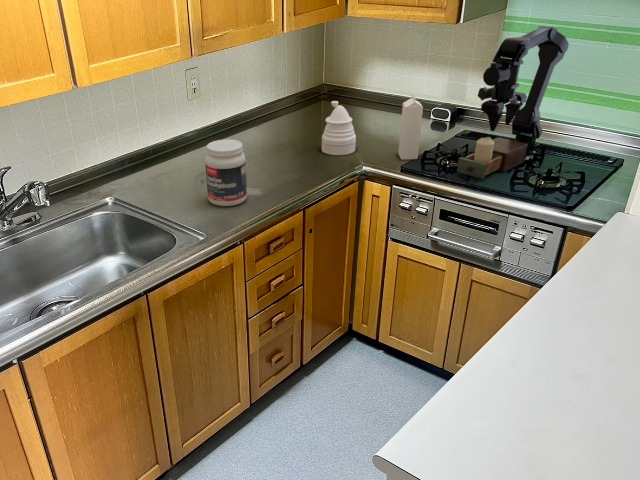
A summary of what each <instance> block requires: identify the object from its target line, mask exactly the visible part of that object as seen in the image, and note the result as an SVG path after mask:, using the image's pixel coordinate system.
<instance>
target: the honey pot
mask: <svg viewBox="0 0 640 480" xmlns="http://www.w3.org/2000/svg"><path fill="white" fill-rule="evenodd" d="M330 103H331V104H330V105H331V107H333V108H334V109H333V110H332V112H331V113H330V115H329V116H327V117H326V118H325V120H324V121H325V123H326V125H325V127H324V130H323V134H322V135H321V152H322V153H324V154H326V155H331V156H345V155H350V154H354V152H356V145H357V144H356V143H357V139H356V138H357V135H356V133H355V130H354V129H355V127H354V125H353V123H352V122H353V118H352V117H351V116H350V115H349V112H348V110H347V109H346V108H345V107H344V106H343V105H340V104H339V101H337V100H332V101H330Z"/></svg>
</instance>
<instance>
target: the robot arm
mask: <svg viewBox="0 0 640 480" xmlns="http://www.w3.org/2000/svg"><path fill="white" fill-rule="evenodd" d="M569 45H570V44H569V41H568V39H567V37H566V36H565V35H563V34H562V33H561V32H559V31H558V30H557V28H556V27H555V26H552V25H551V26H550V25H540V26H539V27H538V28H536V29H534V30H531V31H530V32H528V33H525V34H524V35H521V36H518V37H517V36H516V37H515V36H514V37H506V38H505V39H503V40H502V42H501V43H500V45H499V48H498V49H497V51H496V53H495V56H494V57H493V59H492V62H491V63H490V66H489V67H487V68H486V69H485V71H484V72H483V74H482V79H483V82H484V83H485V85H487V86H489V87H488V88H487V87H486V86H484V87H480V88H479V89H478V93H477V97H478V98H479V99H480V101H482V103H481V105H480V111H482V112H483V113H484V114H486V115H487V118H488V124H489V128H490V131H491V132H495V130H496V128H497V127H498V124H499V123H500V120H501V119H502V116H503V114H504V109H505V125H506V126H509V125H510V124H511V134H512V135H515V138H514V139H513V141H518V142H522V143H527V144H528V146H527V151H526V156H527V155H535V154H537V152H536V151H535V147H536V140H537V139H540V137H541V136H542V134H543V128H542V126H541V124H540V123H541V118H542V117H541V113H540V112H541V111H540V107H541V104H542V101H543V99H544V96H545V93H546V90H547V89H548V85H549V83H550V80H551V77H552V75H553V71H554V69H555V66H557V65H558V64H559V63H560V62H561V61H562V60H563V59H564V56H565V54H566V52H567V51H568V49H569V47H570V46H569ZM535 47H538V51H537V52H538V53H537V56H538V60H539V65H538V68H537V70H536V73H535V76H534V78H533V81H532V84H531V86H530V89H529V93H528V94H526V93H525V92H519V91H517V88H518V87H520V83H519V82H518V80H519V75H520V69H521V65H524V63H525V62H524V61H523V58H524V57H526V56H527V55H528V53H529V50H531V49H533V48H535ZM487 99H488V100H487Z"/></svg>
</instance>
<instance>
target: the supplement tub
mask: <svg viewBox="0 0 640 480" xmlns="http://www.w3.org/2000/svg"><path fill="white" fill-rule="evenodd" d="M243 151H244V144H243V142H241V141H240V140H236V139H230V138H229V139H217V140H213V141H211V142H209V143H207V144H206V153H207V154H206V155H205V159H204V163H205V176H206V177H205V178H206V190H207V191H206V192H207V199H208V201H209V203H211V204H213V205H215V206H218V207H233V206H238V205H240V204H242V203H244V202H245V201H246V200H247V197H248V185H247V159H246V155H245V152H243Z"/></svg>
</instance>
